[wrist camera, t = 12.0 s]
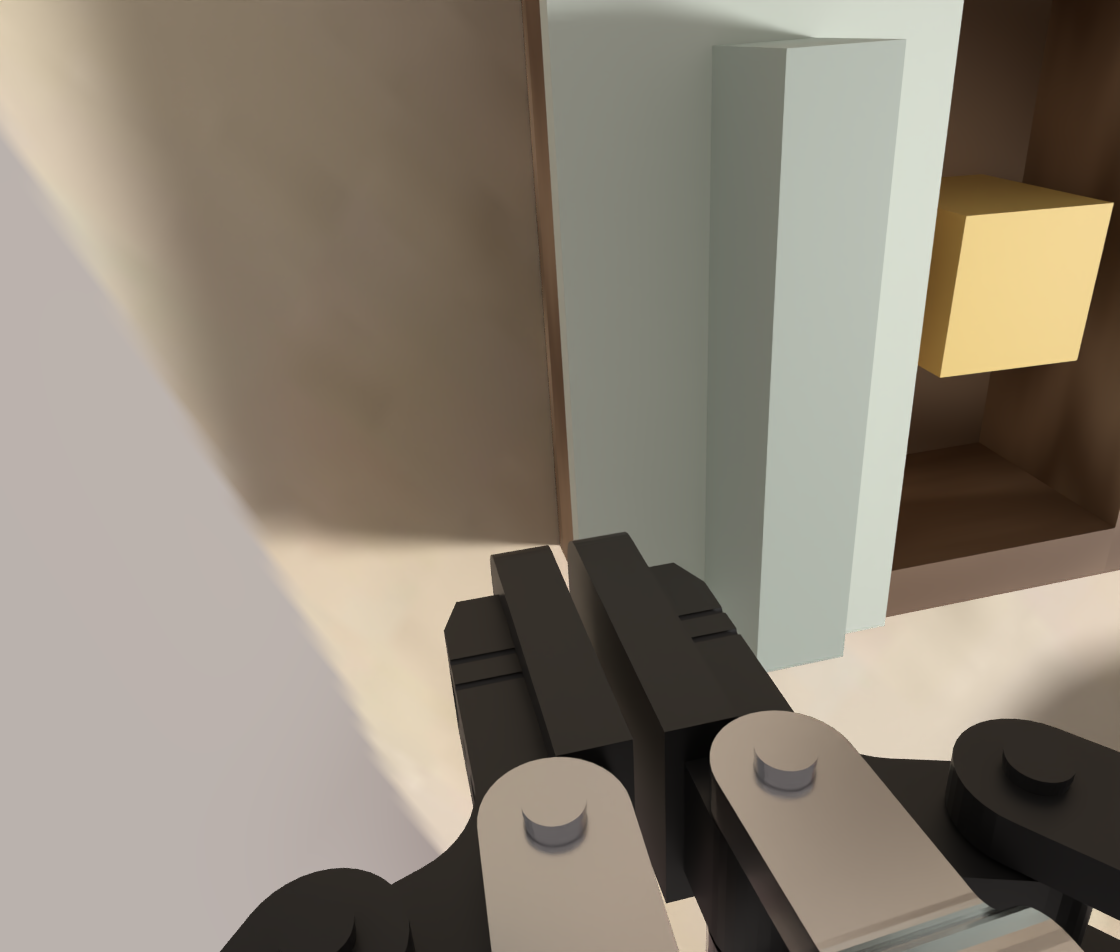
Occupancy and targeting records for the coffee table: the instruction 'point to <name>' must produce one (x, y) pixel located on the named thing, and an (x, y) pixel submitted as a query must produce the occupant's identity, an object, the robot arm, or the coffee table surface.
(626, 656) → the robot arm
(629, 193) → the slide cover
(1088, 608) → the coffee table surface
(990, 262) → the block
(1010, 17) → the brown square open box
